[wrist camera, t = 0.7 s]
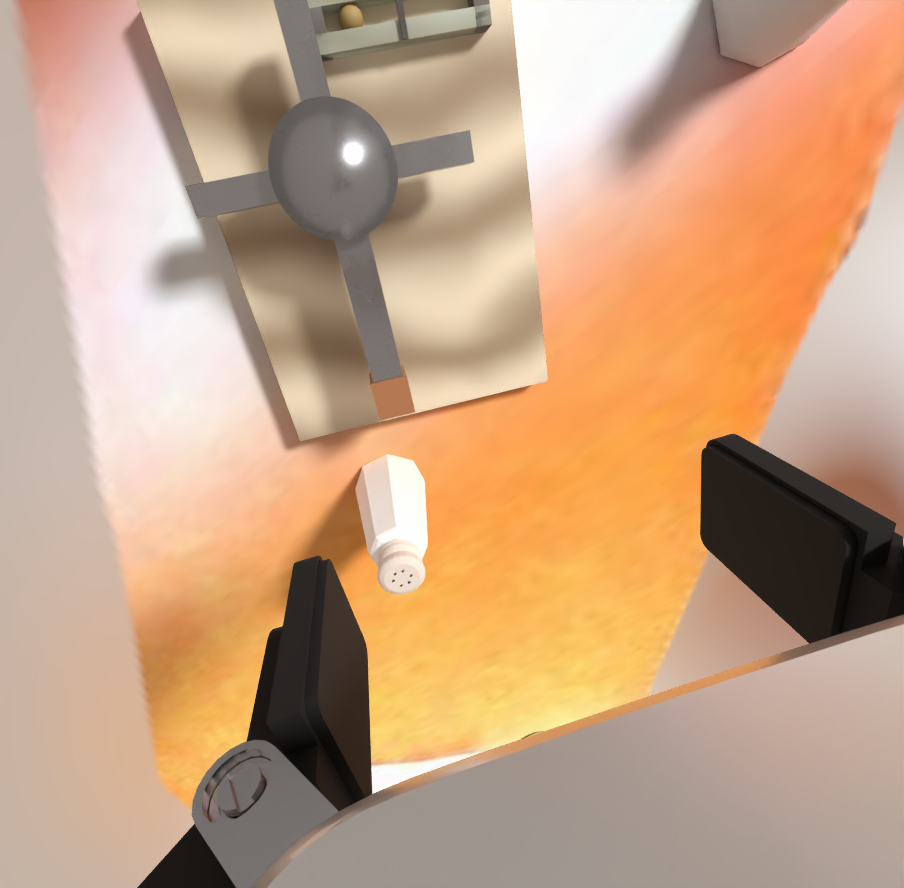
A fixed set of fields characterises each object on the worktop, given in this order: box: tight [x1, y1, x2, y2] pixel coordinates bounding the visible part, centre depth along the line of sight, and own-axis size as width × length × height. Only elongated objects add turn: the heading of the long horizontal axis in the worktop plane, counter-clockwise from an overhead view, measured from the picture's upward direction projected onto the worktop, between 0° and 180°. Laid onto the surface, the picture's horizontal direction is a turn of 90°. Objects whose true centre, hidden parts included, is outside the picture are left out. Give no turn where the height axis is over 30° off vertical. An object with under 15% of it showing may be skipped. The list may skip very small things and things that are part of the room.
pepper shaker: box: [355, 454, 428, 594], centre depth 33 cm, size 5×5×11 cm
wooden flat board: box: [137, 0, 548, 441], centre depth 29 cm, size 24×18×3 cm
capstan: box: [185, 0, 474, 421], centre depth 26 cm, size 20×14×4 cm
